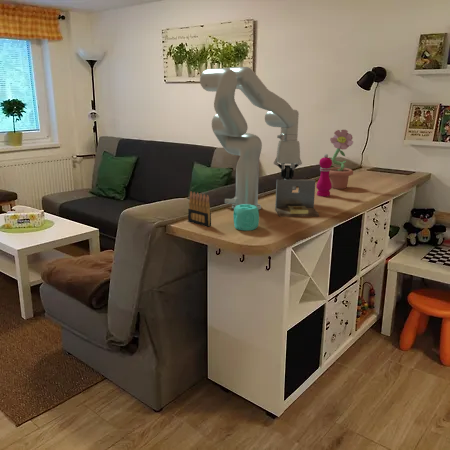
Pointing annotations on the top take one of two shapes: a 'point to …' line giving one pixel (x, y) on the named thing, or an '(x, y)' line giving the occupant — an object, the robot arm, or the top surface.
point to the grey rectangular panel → (295, 193)
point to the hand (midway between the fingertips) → (287, 178)
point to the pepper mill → (324, 177)
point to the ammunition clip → (199, 210)
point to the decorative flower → (340, 174)
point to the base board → (285, 213)
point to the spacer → (297, 209)
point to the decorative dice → (246, 217)
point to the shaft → (288, 174)
